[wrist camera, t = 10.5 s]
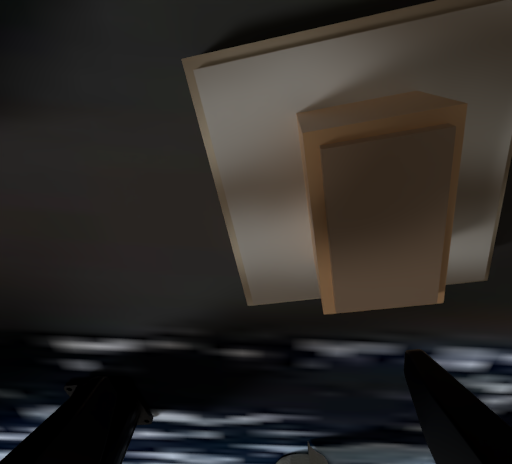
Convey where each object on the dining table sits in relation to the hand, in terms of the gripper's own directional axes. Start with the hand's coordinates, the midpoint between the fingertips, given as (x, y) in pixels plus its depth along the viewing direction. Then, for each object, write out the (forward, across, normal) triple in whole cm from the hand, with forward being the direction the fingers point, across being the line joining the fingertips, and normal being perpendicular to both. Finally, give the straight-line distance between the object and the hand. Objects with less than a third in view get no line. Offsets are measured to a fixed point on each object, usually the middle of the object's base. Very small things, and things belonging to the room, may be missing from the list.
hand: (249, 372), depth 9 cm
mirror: (+11, -5, -2) cm, 13 cm away
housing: (+8, -5, -2) cm, 10 cm away
